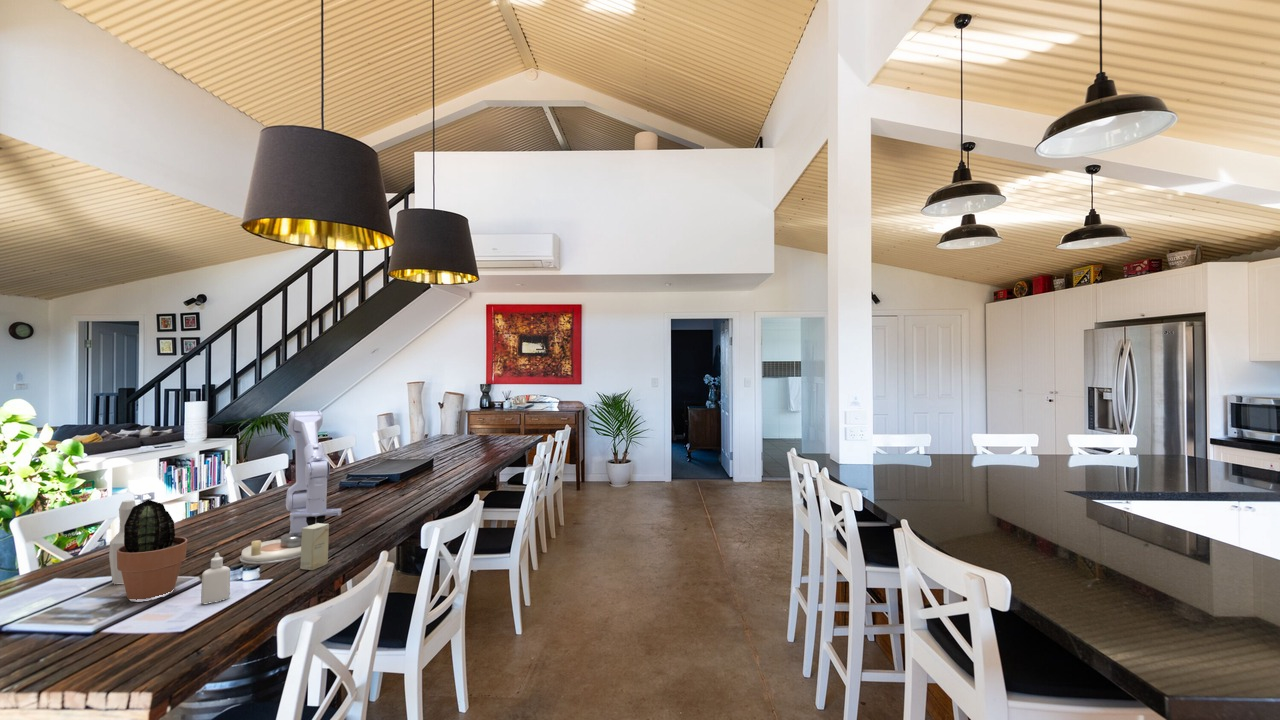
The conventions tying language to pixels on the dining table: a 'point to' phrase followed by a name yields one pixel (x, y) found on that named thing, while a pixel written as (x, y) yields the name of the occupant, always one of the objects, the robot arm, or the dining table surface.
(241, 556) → the turntable base
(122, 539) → the faceted bottle
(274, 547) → the disc
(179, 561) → the potted plant
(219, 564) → the eye dropper bottle
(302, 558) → the skincare box
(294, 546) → the cover
